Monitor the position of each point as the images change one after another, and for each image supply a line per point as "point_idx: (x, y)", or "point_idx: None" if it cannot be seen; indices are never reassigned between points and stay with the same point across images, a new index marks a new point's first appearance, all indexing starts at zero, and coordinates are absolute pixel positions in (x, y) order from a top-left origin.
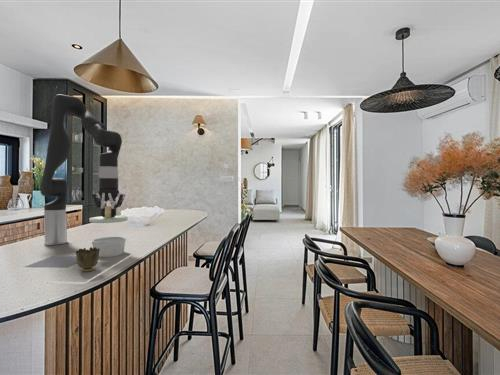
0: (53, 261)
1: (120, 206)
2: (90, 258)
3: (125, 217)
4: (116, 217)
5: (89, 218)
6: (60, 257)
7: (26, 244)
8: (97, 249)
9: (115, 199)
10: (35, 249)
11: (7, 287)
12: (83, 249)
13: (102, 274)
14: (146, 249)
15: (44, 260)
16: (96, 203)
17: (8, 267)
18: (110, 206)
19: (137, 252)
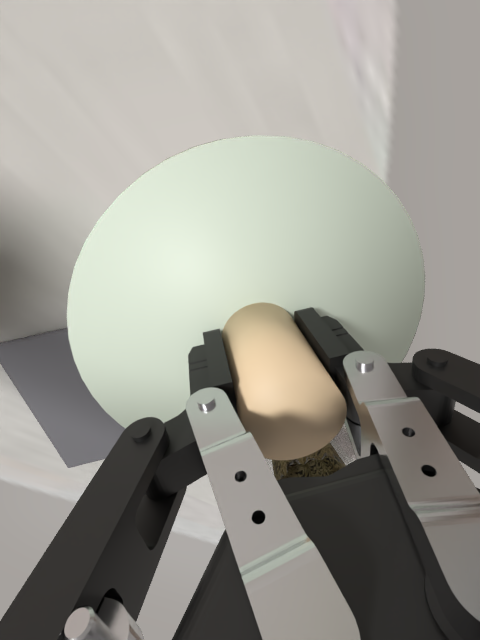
0: (94, 404)
1: (439, 350)
2: (327, 473)
3: (405, 265)
4: (317, 293)
5: (120, 423)
6: (56, 358)
7: None
8: (328, 456)
9: (439, 452)
10: None
11: (194, 533)
12: (283, 474)
13: (342, 427)
14: (356, 44)
15: (44, 406)
16: (144, 529)
17: (2, 472)
18: (333, 433)
19: (332, 145)
